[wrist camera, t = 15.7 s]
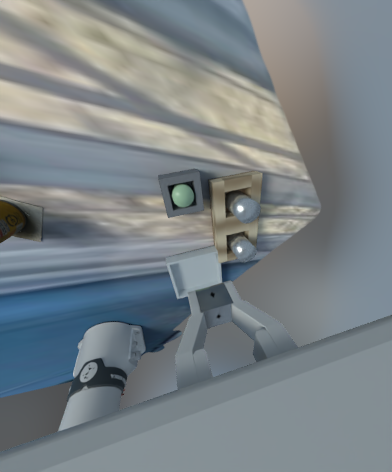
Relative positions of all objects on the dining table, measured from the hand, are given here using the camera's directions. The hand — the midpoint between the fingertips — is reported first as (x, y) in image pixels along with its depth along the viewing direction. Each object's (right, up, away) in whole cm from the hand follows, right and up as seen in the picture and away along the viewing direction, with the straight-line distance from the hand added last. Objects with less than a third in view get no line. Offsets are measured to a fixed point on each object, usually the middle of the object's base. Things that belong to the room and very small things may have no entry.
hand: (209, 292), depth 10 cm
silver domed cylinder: (+9, +3, +29) cm, 30 cm away
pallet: (+8, +8, +27) cm, 29 cm away
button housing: (-4, +13, +21) cm, 25 cm away
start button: (-4, +12, +19) cm, 23 cm away
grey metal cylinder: (+7, +12, +24) cm, 27 cm away
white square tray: (-1, -6, +32) cm, 33 cm away
